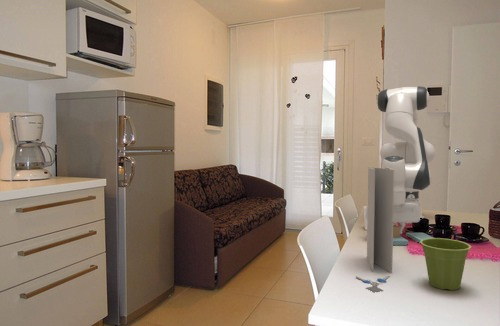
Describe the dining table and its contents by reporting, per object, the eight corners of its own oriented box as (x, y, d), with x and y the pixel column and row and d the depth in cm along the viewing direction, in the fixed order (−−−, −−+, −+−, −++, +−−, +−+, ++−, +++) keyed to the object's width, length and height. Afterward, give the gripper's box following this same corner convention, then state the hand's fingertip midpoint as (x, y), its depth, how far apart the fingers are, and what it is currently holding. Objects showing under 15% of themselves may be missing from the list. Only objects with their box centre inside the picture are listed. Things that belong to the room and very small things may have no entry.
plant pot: (425, 274, 105) (426, 235, 104) (473, 284, 97) (474, 242, 97) (413, 286, 96) (414, 244, 95) (465, 298, 88) (466, 252, 88)
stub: (378, 235, 150) (378, 222, 149) (393, 235, 150) (393, 222, 149) (392, 245, 136) (392, 230, 135) (408, 244, 136) (408, 230, 135)
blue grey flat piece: (381, 295, 91) (381, 292, 91) (348, 289, 95) (348, 286, 95) (390, 277, 103) (390, 275, 103) (360, 272, 107) (360, 270, 107)
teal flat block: (406, 236, 150) (406, 232, 150) (423, 236, 150) (423, 232, 150) (422, 245, 136) (422, 241, 136) (441, 245, 136) (441, 241, 136)
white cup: (384, 231, 158) (385, 208, 157) (366, 231, 158) (366, 208, 157) (378, 227, 165) (379, 205, 165) (361, 227, 166) (361, 205, 165)
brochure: (392, 273, 106) (394, 169, 105) (372, 271, 107) (374, 169, 106) (384, 258, 120) (386, 167, 119) (366, 257, 121) (368, 166, 120)
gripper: (415, 197, 145) (415, 231, 146) (364, 197, 145) (364, 231, 145) (423, 199, 139) (422, 235, 140) (370, 199, 138) (369, 235, 139)
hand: (392, 233), depth 142 cm, fingers closed on stub, 4 cm apart
